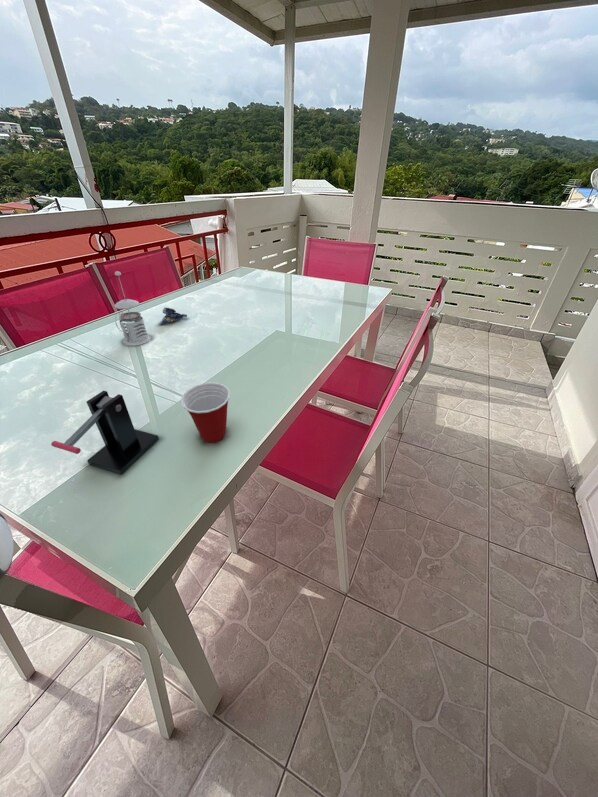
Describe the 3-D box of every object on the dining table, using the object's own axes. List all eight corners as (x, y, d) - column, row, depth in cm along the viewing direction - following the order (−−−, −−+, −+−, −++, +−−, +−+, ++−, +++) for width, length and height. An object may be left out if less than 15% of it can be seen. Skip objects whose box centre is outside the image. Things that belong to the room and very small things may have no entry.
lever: (79, 457, 61) (72, 449, 59) (55, 449, 62) (47, 441, 61) (125, 407, 69) (120, 399, 67) (103, 401, 71) (97, 393, 69)
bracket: (121, 474, 70) (97, 420, 61) (88, 464, 72) (61, 410, 64) (159, 439, 79) (143, 387, 71) (128, 430, 81) (109, 379, 73)
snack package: (154, 318, 143) (159, 327, 134) (153, 304, 140) (158, 311, 131) (183, 318, 149) (189, 327, 140) (183, 304, 146) (189, 312, 137)
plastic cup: (180, 441, 78) (169, 400, 72) (210, 417, 86) (203, 377, 80) (216, 457, 74) (208, 415, 68) (244, 429, 82) (239, 389, 75)
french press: (156, 336, 128) (139, 268, 113) (137, 349, 118) (115, 277, 104) (134, 333, 130) (114, 266, 115) (113, 345, 120) (89, 275, 106)
